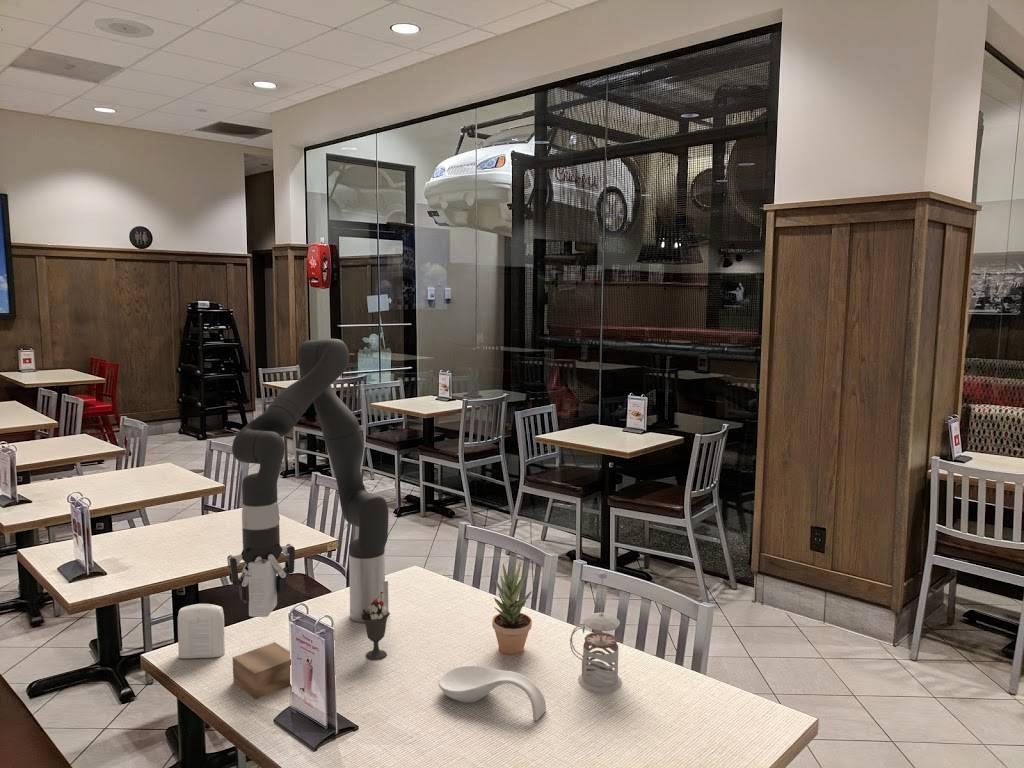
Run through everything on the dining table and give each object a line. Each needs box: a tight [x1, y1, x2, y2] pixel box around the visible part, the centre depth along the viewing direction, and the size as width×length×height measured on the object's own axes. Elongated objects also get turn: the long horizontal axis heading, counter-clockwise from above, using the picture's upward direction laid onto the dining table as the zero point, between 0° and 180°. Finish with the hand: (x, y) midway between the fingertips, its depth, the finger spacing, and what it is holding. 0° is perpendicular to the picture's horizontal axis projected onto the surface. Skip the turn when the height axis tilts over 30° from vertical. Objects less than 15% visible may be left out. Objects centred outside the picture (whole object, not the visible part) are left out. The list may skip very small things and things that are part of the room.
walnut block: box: [232, 641, 291, 700], centre depth 160 cm, size 10×10×6 cm
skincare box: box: [247, 559, 278, 618], centre depth 158 cm, size 6×4×12 cm
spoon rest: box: [438, 665, 547, 722], centre depth 154 cm, size 24×12×7 cm, turn 63°
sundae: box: [361, 592, 391, 661], centre depth 172 cm, size 7×7×15 cm
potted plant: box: [491, 549, 533, 655], centre depth 176 cm, size 10×10×25 cm
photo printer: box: [177, 603, 226, 659], centre depth 172 cm, size 10×4×12 cm, turn 98°
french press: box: [569, 571, 623, 694], centre depth 161 cm, size 10×12×25 cm
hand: (263, 597), depth 159 cm, fingers closed on skincare box, 6 cm apart
